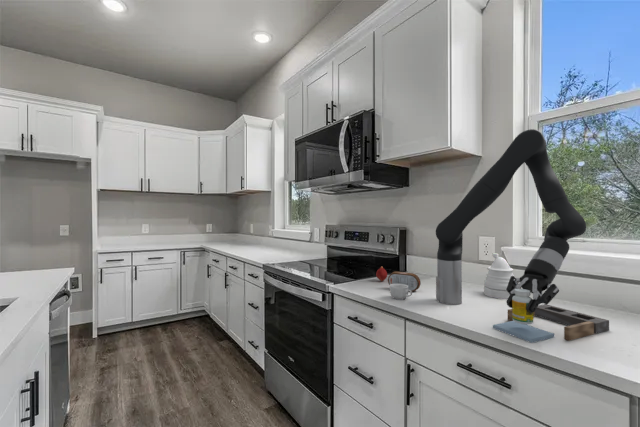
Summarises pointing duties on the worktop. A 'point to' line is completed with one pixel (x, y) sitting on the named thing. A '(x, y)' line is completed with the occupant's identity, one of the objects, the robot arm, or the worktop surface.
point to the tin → (405, 280)
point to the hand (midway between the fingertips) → (518, 308)
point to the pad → (524, 331)
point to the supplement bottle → (521, 307)
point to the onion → (381, 274)
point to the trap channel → (570, 321)
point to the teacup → (399, 291)
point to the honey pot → (498, 278)
